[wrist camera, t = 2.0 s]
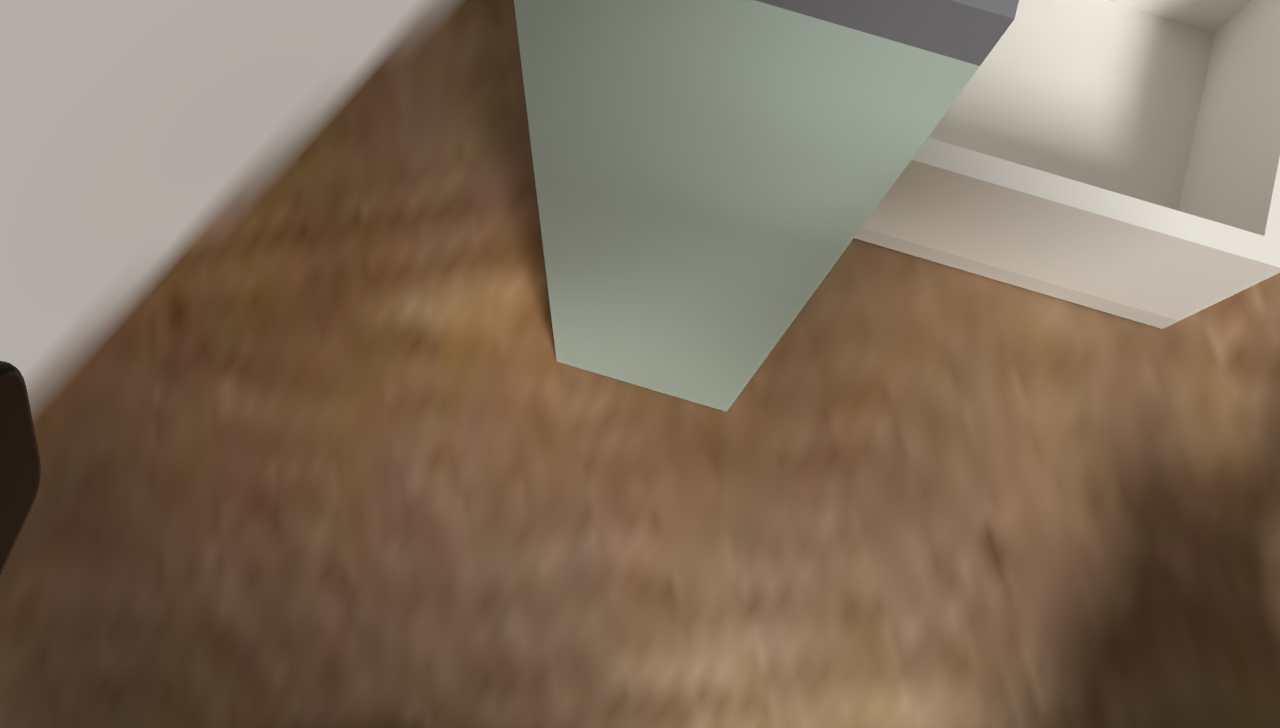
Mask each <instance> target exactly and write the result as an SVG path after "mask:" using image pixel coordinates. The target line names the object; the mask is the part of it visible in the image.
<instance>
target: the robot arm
mask: <svg viewBox="0 0 1280 728" xmlns="http://www.w3.org/2000/svg"><path fill="white" fill-rule="evenodd" d="M40 468H41V467H40V458H39V452H38V447H37V442H36V437H35V431H34V426H33V421H32V415H31V410H30V405H29V400H28V394H27V389H26V385H25V382H24V378H23V376H22V375H21V373H20V372H19V370H18V369H17V368H16V367H14V366H13V365H11V364H9V363H7V362H3V361H0V574H1V572H2V570H3V568H4V565H5V563H6V561H7V559H8V557H9V555H10V552H11V550H12V548H13V546H14V544H15V542H16V539H17V537H18V535H19V533H20V531H21V529H22V526H23V524H24V522H25V520H26V518H27V516H28V513H29V511H30V509H31V507H32V505H33V502H34V500H35V497H36V494H37V491H38V487H39V482H40Z"/></svg>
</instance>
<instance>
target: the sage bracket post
mask: <svg viewBox="0 0 1280 728" xmlns="http://www.w3.org/2000/svg"><path fill="white" fill-rule="evenodd" d="M1018 3H1019V0H514V6H515V15H516V23H517V32H518V40H519V49H520V57H521V65H522V74H523V82H524V91H525V99H526V108H527V116H528V125H529V133H530V142H531V150H532V158H533V167H534V175H535V184H536V192H537V201H538V209H539V218H540V226H541V234H542V243H543V251H544V260H545V268H546V277H547V285H548V294H549V302H550V311H551V319H552V327H553V336H554V344H555V353H556V361H557V362H560V363H563V364H567V365H570V366H574V367H577V368H580V369H584V370H587V371H590V372H594V373H597V374H600V375H604V376H607V377H611V378H614V379H617V380H621V381H624V382H627V383H631V384H634V385H638V386H641V387H644V388H648V389H651V390H654V391H658V392H661V393H664V394H668V395H671V396H675V397H678V398H681V399H685V400H688V401H691V402H695V403H698V404H702V405H705V406H708V407H712V408H715V409H718V410H722V411H725V412H727V411H728V409H729V408H730V407H731V405H732V404H733V402H734V401H735V400H736V398H737V397H738V396H739V394H740V393H741V392H742V390H743V389H744V387H745V386H746V385H747V383H748V382H749V381H750V379H751V378H752V377H753V375H754V374H755V372H756V371H757V370H758V368H759V367H760V366H761V364H762V363H763V362H764V360H765V359H766V357H767V356H768V355H769V353H770V352H771V351H772V349H773V348H774V347H775V345H776V344H777V342H778V341H779V340H780V338H781V337H782V336H783V334H784V333H785V332H786V330H787V329H788V327H789V326H790V325H791V323H792V322H793V321H794V319H795V318H796V317H797V315H798V314H799V312H800V311H801V310H802V308H803V307H804V306H805V304H806V303H807V302H808V300H809V299H810V297H811V296H812V295H813V293H814V292H815V291H816V289H817V288H818V287H819V285H820V284H821V282H822V281H823V280H824V278H825V277H826V276H827V274H828V273H829V271H830V270H831V269H832V267H833V266H834V265H835V263H836V262H837V261H838V259H839V258H840V256H841V255H842V254H843V252H844V251H845V250H846V248H847V247H848V246H849V244H850V243H851V241H852V240H853V239H854V237H855V236H856V235H857V233H858V232H859V231H860V229H861V228H862V226H863V225H864V224H865V222H866V221H867V220H868V218H869V217H870V216H871V214H872V213H873V211H874V210H875V209H876V207H877V206H878V205H879V203H880V202H881V201H882V199H883V198H884V196H885V195H886V194H887V192H888V191H889V190H890V188H891V187H892V186H893V184H894V183H895V181H896V180H897V179H898V177H899V176H900V175H901V173H902V172H903V171H904V169H905V168H906V166H907V165H908V164H909V162H910V161H911V160H912V158H913V157H914V156H915V154H916V153H917V151H918V150H919V149H920V147H921V146H922V145H923V143H924V142H925V141H926V139H927V138H928V136H929V135H930V134H931V132H932V131H933V130H934V128H935V127H936V126H937V124H938V123H939V121H940V120H941V119H942V117H943V116H944V115H945V113H946V112H947V111H948V109H949V108H950V106H951V105H952V104H953V102H954V101H955V100H956V98H957V97H958V96H959V94H960V93H961V91H962V90H963V89H964V87H965V86H966V85H967V83H968V82H969V81H970V79H971V78H972V76H973V75H974V74H975V72H976V71H977V70H978V68H979V67H980V65H981V64H982V63H983V61H984V60H985V59H986V57H987V56H988V55H989V53H990V52H991V50H992V49H993V48H994V46H995V45H996V44H997V42H998V41H999V40H1000V38H1001V37H1002V35H1003V34H1004V33H1005V31H1006V30H1007V29H1008V27H1009V26H1010V25H1011V23H1012V22H1013V20H1014V19H1015V15H1016V11H1017V7H1018Z"/></svg>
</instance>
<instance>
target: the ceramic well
mask: <svg viewBox="0 0 1280 728" xmlns="http://www.w3.org/2000/svg"><path fill="white" fill-rule="evenodd" d="M854 238H855V239H859V240H862V241H865V242H869V243H872V244H876V245H879V246H882V247H886V248H889V249H893V250H896V251H899V252H903V253H906V254H910V255H913V256H916V257H920V258H923V259H927V260H930V261H933V262H937V263H940V264H944V265H947V266H950V267H954V268H957V269H961V270H964V271H967V272H971V273H974V274H978V275H981V276H984V277H988V278H991V279H995V280H998V281H1001V282H1005V283H1008V284H1011V285H1015V286H1018V287H1022V288H1025V289H1028V290H1032V291H1035V292H1039V293H1042V294H1045V295H1049V296H1052V297H1056V298H1059V299H1062V300H1066V301H1069V302H1073V303H1076V304H1079V305H1083V306H1086V307H1090V308H1093V309H1096V310H1100V311H1103V312H1107V313H1110V314H1113V315H1117V316H1120V317H1124V318H1127V319H1130V320H1134V321H1137V322H1141V323H1144V324H1147V325H1151V326H1154V327H1158V328H1161V329H1163V328H1165V327H1167V326H1169V325H1172V324H1174V323H1176V322H1178V321H1180V320H1182V319H1184V318H1186V317H1188V316H1190V315H1192V314H1194V313H1197V312H1199V311H1201V310H1203V309H1205V308H1207V307H1209V306H1211V305H1213V304H1215V303H1217V302H1220V301H1222V300H1224V299H1226V298H1228V297H1230V296H1232V295H1234V294H1236V293H1238V292H1240V291H1242V290H1245V289H1247V288H1249V287H1251V286H1253V285H1255V284H1257V283H1259V282H1261V281H1263V280H1265V279H1267V278H1270V277H1272V276H1274V275H1276V274H1278V273H1280V0H1019V3H1018V7H1017V11H1016V15H1015V19H1014V20H1013V22H1012V23H1011V25H1010V26H1009V27H1008V29H1007V30H1006V31H1005V33H1004V34H1003V35H1002V37H1001V38H1000V40H999V41H998V42H997V44H996V45H995V46H994V48H993V49H992V50H991V52H990V53H989V55H988V56H987V57H986V59H985V60H984V61H983V63H982V64H981V65H980V67H979V68H978V70H977V71H976V72H975V74H974V75H973V76H972V78H971V79H970V81H969V82H968V83H967V85H966V86H965V87H964V89H963V90H962V91H961V93H960V94H959V96H958V97H957V98H956V100H955V101H954V102H953V104H952V105H951V106H950V108H949V109H948V111H947V112H946V113H945V115H944V116H943V117H942V119H941V120H940V121H939V123H938V124H937V126H936V127H935V128H934V130H933V131H932V132H931V134H930V135H929V136H928V138H927V139H926V141H925V142H924V143H923V145H922V146H921V147H920V149H919V150H918V151H917V153H916V154H915V156H914V157H913V158H912V160H911V161H910V162H909V164H908V165H907V166H906V168H905V169H904V171H903V172H902V173H901V175H900V176H899V177H898V179H897V180H896V181H895V183H894V184H893V186H892V187H891V188H890V190H889V191H888V192H887V194H886V195H885V196H884V198H883V199H882V201H881V202H880V203H879V205H878V206H877V207H876V209H875V210H874V211H873V213H872V214H871V216H870V217H869V218H868V220H867V221H866V222H865V224H864V225H863V226H862V228H861V229H860V231H859V232H858V233H857V235H856V236H855V237H854Z"/></svg>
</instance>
